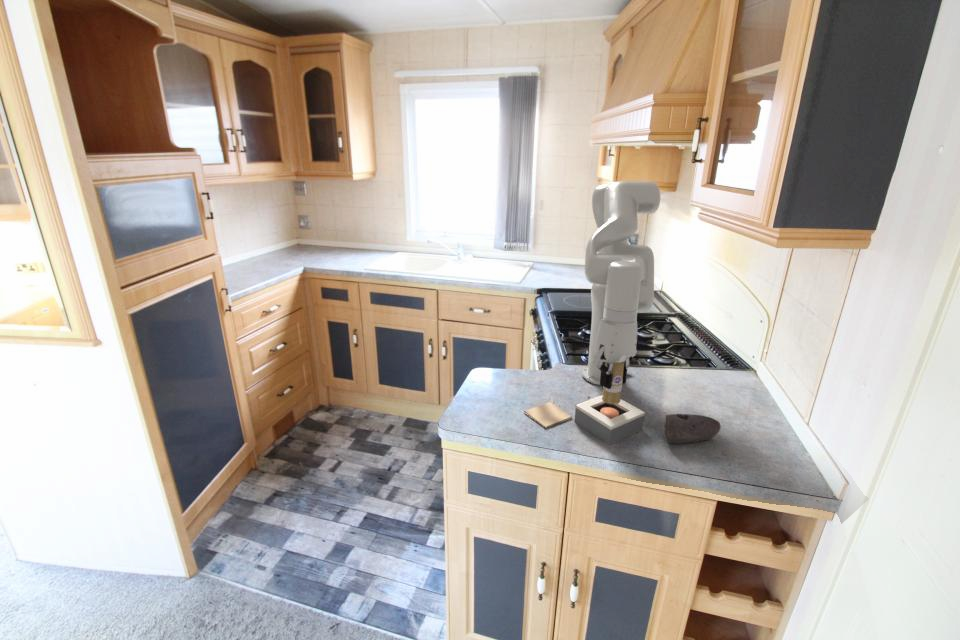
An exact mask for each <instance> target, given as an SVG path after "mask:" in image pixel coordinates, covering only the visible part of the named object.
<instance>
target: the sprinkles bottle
mask: <svg viewBox="0 0 960 640" xmlns="http://www.w3.org/2000/svg"><path fill="white" fill-rule="evenodd" d="M625 360H626V357H625V355H623V356H621V358H620V360H619V361H617V362H614V363H613V367H612V371H611V374H613V376H612V386H611V389H607V388H605V387H604V386H602V388H603V389H602V395H603V396H602V400H603V401H604V402H605V403H607V404H618V403H620V399H621V394H622V388H623V384H622V381H623V370H624V362H625ZM606 367H608V363H606Z"/></svg>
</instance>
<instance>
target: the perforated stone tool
mask: <svg viewBox="0 0 960 640" xmlns="http://www.w3.org/2000/svg"><path fill="white" fill-rule="evenodd" d="M664 428H665V429H664V430H665V431H664V436H665V440H666V442H667V443H672V444H686V443H687V444H689V443H695V442H696V443H697V442H702V441H706V440H707V441H708V440H709V439H711V438H713V437H715V436H716V435H717V434H719V432H720V431H721V422H719V420H717V419H715V418H713V417H710V416H706V415H699V414H689V413H677V414H676V413H675V414H666V415H665V421H664Z"/></svg>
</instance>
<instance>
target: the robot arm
mask: <svg viewBox="0 0 960 640" xmlns="http://www.w3.org/2000/svg"><path fill="white" fill-rule="evenodd" d="M591 201H592V202H591V205H592V214H593V218H594V221H595V223H596V227H597V229H596V230H595V232H593V234H591V237H590V238H589V240H588V242H587V243H586V246H585V247H586V248H585V257H584V258H585V259H584V276H585V279H586V281H587V282H588V283H590V284H592V285H591V288H590V294H591V295H590V299H591V322H590V323H591V325H590V334H589V335H590V336H589V349H588V360H587V361H588V363H587V366H586V367H584V368H583V369H582V372H581V374H582V378H583V377H584V378H585V379H586V380H585V379H584V378H583V379H584V380H585V381H586V382H588V381H589V382H588V383H590V382H591V383H590V384H593V385H597V386H601V387H603V386H604V387H605V388H607V389H611V386H612V376H613V374H611V371H612V367H613V363H614V362H617V361H619V360H620V358H621V356H623V355H625V357H626V360H625V362H624V370H623V381H622V385H624V384H626V383H627V382H626V381H627V376H628V369H629V368H630V363H631V362H632V360H633V358H634V356H636V354H637V353H638V349H637V342H638V321H637V320H638V318H637V317H638V314H639V313H643V314H644V313H648V312H649V311H651V309H652V308H653V306H654V301H655V256H654V252H653V250H652V248H651V247H650V246H647V245H645V244H644V245H643V244H629V243H628V240H629V238H631V237H633V236H634V235H635V233H637V231H638V227H639V222H638V214H640V215H641V214H643V215H644V214H645V215H646V214H648V215H652V214H655V213H656V212H657V210H658V209H659V207H660V203H661V190H660V186H659V185H658V183H656V182H654V181H646V180H645V181H642V180H641V181H639V180H632V181H631V180H622V181H621V180H620V181H615V182H612V183H605V184H601V185H600V184H599V185H598V186H596V188H594V190H593V192H592V199H591ZM606 363H608V367H606Z"/></svg>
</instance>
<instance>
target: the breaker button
mask: <svg viewBox="0 0 960 640" xmlns="http://www.w3.org/2000/svg"><path fill="white" fill-rule="evenodd" d="M600 413H602V414H603V415H605V416H607V417H608V418H610V419H612V418H614V417H617V416H619V412H618V411H617V410H616V409H614V408H610V407H605V408H602V409H601V410H600Z"/></svg>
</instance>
